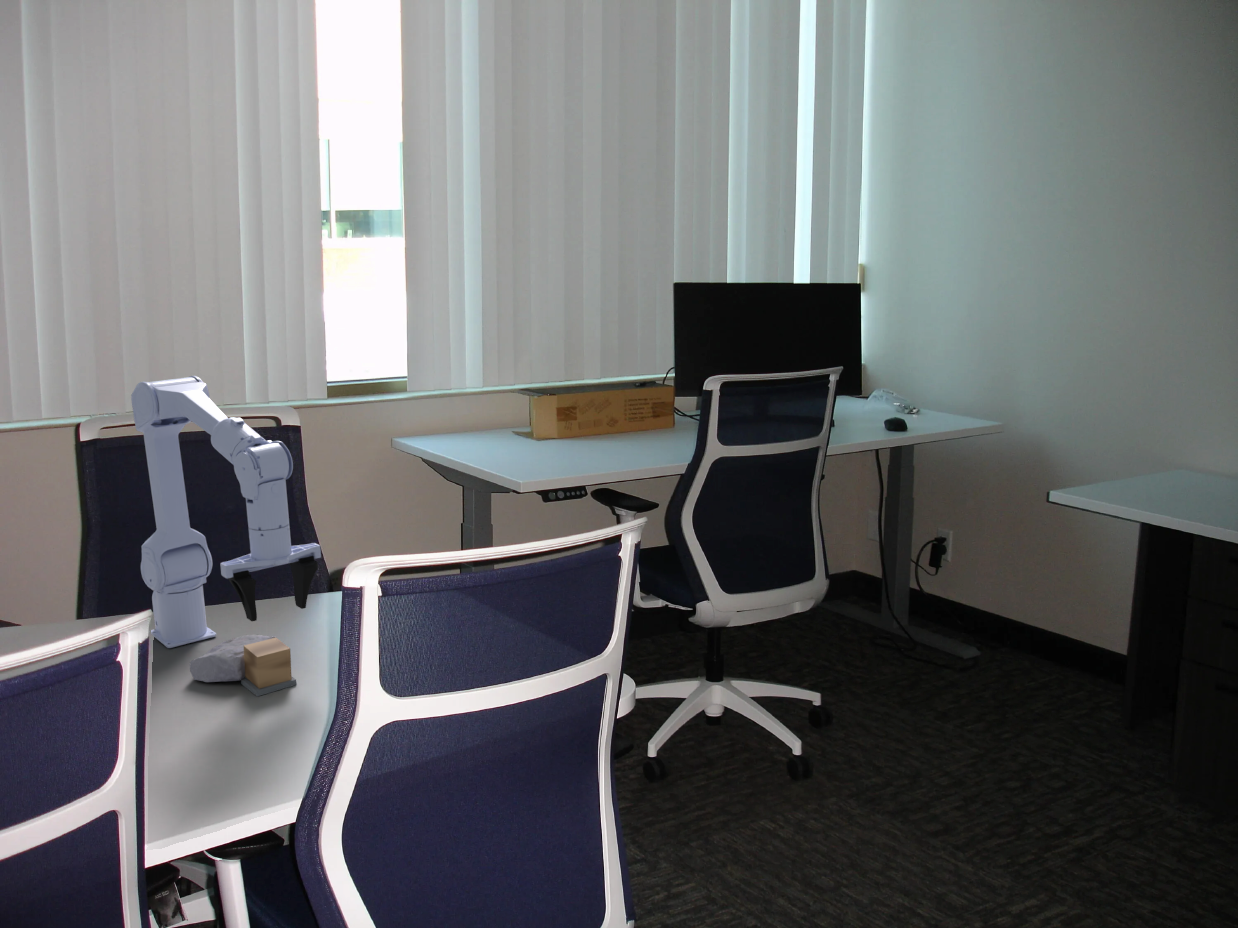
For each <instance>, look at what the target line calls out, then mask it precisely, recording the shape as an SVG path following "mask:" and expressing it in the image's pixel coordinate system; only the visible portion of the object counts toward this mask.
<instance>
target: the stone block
mask: <svg viewBox="0 0 1238 928" xmlns="http://www.w3.org/2000/svg"><path fill="white" fill-rule="evenodd" d="M272 638H277V636H275V635H272V636H268V635H261V634H245V635H241V636H238V637H234V638H232V639H227V640H225V641H222V642H220V643H219V644H218V645H216V646H214V647H212V648H210V649H209V650H208V651H207V652H206V653H205V654H203V655H202V656H199V657H196V658H194V659H193V660H191V661H189V670H190V671H189V672H190V674H191V676H192V677H193V680H195V681H199V682H200V681H201V682H204V683H215V682H237V681H241V680H242V679H243V678H245V662H244V645H248V644H252V643H256V642H260V641H264V640H268V639H272Z"/></svg>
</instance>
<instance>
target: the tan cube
mask: <svg viewBox="0 0 1238 928" xmlns="http://www.w3.org/2000/svg"><path fill="white" fill-rule="evenodd" d="M244 662H245V677H246V678H247V679H248V680H250V681H251V682H252V683H253V684H254V685H255V686H256V687H258V688H259V689H260V688H263V687H267V686H271V685H274V684H278V683H281V682H285V681H289V680H292V677H293V676H292V659H291V648H290V647H289V646H288V645H286V644H285V643H284V642H282V641H281V640H280V639H278V638H277V637H276V638H272V639H268V640H264V641H260V642H256V643H252V644H248V645H244ZM291 676H292V677H291Z"/></svg>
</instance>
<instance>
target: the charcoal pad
mask: <svg viewBox="0 0 1238 928" xmlns="http://www.w3.org/2000/svg"><path fill="white" fill-rule="evenodd" d="M291 677H292V680H289V681H285V682H281V683H278V684H274V685H271V686H267V687H263V688H260V689H259V688H258V687H256V686H255V685H254V684H253V683H252V682H251V681H250V680H248V679H247V678H246V677H245V678H243V679H242V680H240V684H241V685H242V686H243V687H244V688H246V689H247V690H249V691H250V693H252V694H253V695H255V696H256V697H260V696H263V695H267V694H271V693H273V692H276V691H280V690H283V689H286V688H290V687H293V686H296V685H297V679H296V678H295V677H293V676H292V675H291Z"/></svg>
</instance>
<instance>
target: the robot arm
mask: <svg viewBox="0 0 1238 928" xmlns="http://www.w3.org/2000/svg"><path fill="white" fill-rule="evenodd" d="M130 396H131V397H130V398H131V406H132V414H133V420H134V424H135V425H134V426H135V430H136V431H137V432H140V433H142V434H143V440H144V446H145V447H144V448H145V455H146V463H147V469H148V476H149V483H150V491H151V497H152V504H153V505H152V506H153V512H154V514H153V515H154V520H155V526H156V527H155V528H156V530H155V532H153V533H152V534H151V535H150V537H148V538H147V539H146V540H145V541H144V543H142V545H141V546H140V547H141V562H140V573H141V578H142V580H143V581H144V583H145V585H146V586H147V587H148V589H151V590H152V591H153V592H152V596H151V601H152V610H153V612H152V613H153V618H154V626H155V627H154V628H155V629H151V634H150V635H151V636H153V637H154V638H155V639H156V640H157V641H159V642H160V643H161V644H162V645H164V647H166V648H167V649H172V648H175V647H180V646H183V645H186V644H187V645H188V644H190V643H195V642H200V641H203V640H207V639H211V638H214V637H216V636H217V632H215V631H214V630H212V629H211V628H209V627H208V625H207V616H206V606H205V596H204V585H203V584H206V583H207V578H208V577H209V576H210V574H211V573H212V569H213V557H212V554H211V552H210V549H209V547H208V543H207V538H206V536H205V535H204V534H203V533H201V532H199V531H198V530H196V529H194V528H191V524H190V523H191V522H190V517H189V509H188V502H187V492H186V485H185V479H184V470H183V463H182V455H181V454H182V453H181V449H180V440H179V434H180V433H181V432H182V430H183V429H184V427H185V426H186V425H189V424H191V423H193V424H195V425H196V426H197V427H199V428H200V429H201V430H203V431H205V432H206V433H207V434H209V435H210V443H211V445H212V447H213V448H214V450H216V451H217V452H218V453H219V454H220V455H222V456H223V457H224V458H225V459H226V460H227V461H228V462H229V463H231V464H232V465H233V470H234V474H235V475H236V479H237V480H238V482H239V486H240V493H241V496H242V497H243V498H245V505H246V517H247V525H248V538H249V549H250V553H248V554H246V555H245V554H244V555H242V556H240V557H236V558H233V559H231V560H228V561H227V560H226V561H222V562H220V575H221V576H222V577H223V578H225V579H227V580H228V581H229V582H230V584H231V585H232V587H233V589H234V590H235V592H236V594H237V596H238V598H239V600H240V602H241V604H242V606H243V610H244V613H245V616H246V619H247V620H249V621H250V622H256V621H257V619H258V613H257V605H256V585H257V580H256V579H254V578H253V577H252V574H250V572H251V573H252V572H257V571H260V570H264V569H270V568H273V567H278V566H279V567H280V566H283V565H287V564H289V567H290V571H291V576H292V582H293V592H294V594H293V595H294V602H295V606H296V607H297V608H299V609H302V610H303V609H306V608H307V602H308V596H309V591H310V587H311V584H312V581H313V580H314V576H315V574H316V573H317V571H318V569H319V563H318V561H316V559H321V558H322V554H321V553H322V552H321V545H320V544H318V543H316V542H311V543H307V544H299V545H292V539H291V529H290V528H291V527H290V518H289V517H290V516H289V504H288V494H287V481H286V480H289V478H290V477H291V476H292V473H293V469H294V463H293V462H294V461H293V457H292V455H291V452H290V450H289V449H288V447H287V445H286V444H285V443H284V442H283V441H280V440H273V441H272V440H271V439H269V440H266V439H265V438H264V437H263V436H261V435H260V434H259V433H258V432H257V431H255V430H254V429H253V428H251V426H249V425H248V424H247V423H246V422H245V420H244V419H243V418H241V417H228V416H227V415H226V414H225V412H223V411H222V409H220V408H219V406H218V405H217V404H215V402H214V401H213V400H211V397H210V392H209V387H208V384H207V383H205V382H204V381H203V380H202V379H201V378H200V377H199V376H197V375H190V376H187V377H179V378H178V377H177V378H172V379H162V380H154V381H153V380H152V381H140V382H138V383H137V384H136V385H135V387H134V390H133V391H132V393H131V395H130Z"/></svg>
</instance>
